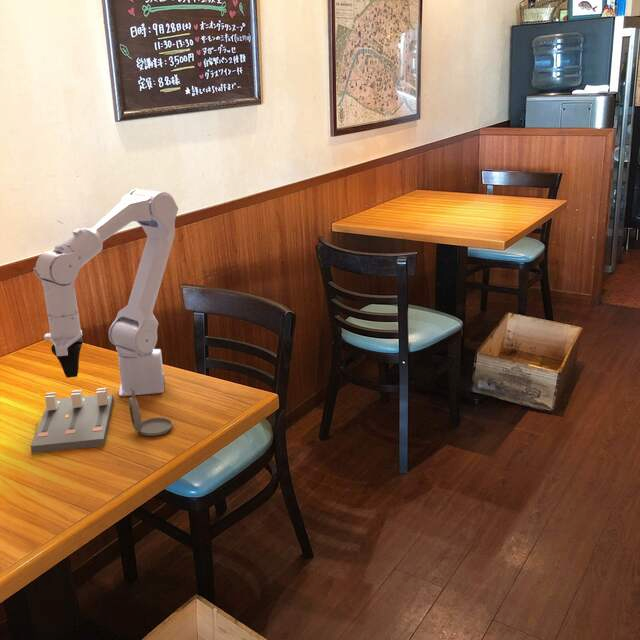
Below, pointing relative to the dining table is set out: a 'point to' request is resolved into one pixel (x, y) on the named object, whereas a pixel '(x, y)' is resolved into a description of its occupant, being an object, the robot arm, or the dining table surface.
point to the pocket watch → (150, 425)
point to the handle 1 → (51, 401)
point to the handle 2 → (102, 396)
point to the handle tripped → (77, 398)
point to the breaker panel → (73, 425)
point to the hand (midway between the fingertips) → (72, 375)
